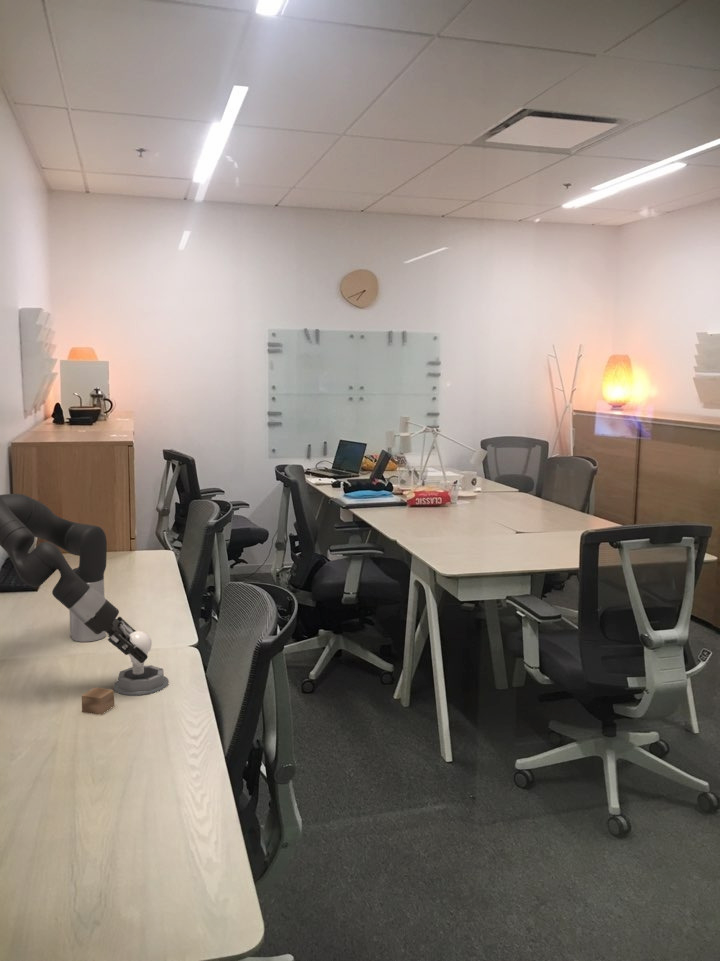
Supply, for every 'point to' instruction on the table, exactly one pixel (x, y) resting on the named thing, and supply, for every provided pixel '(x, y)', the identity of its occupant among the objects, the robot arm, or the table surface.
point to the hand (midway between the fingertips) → (145, 655)
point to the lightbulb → (144, 644)
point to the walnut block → (97, 700)
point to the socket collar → (141, 681)
